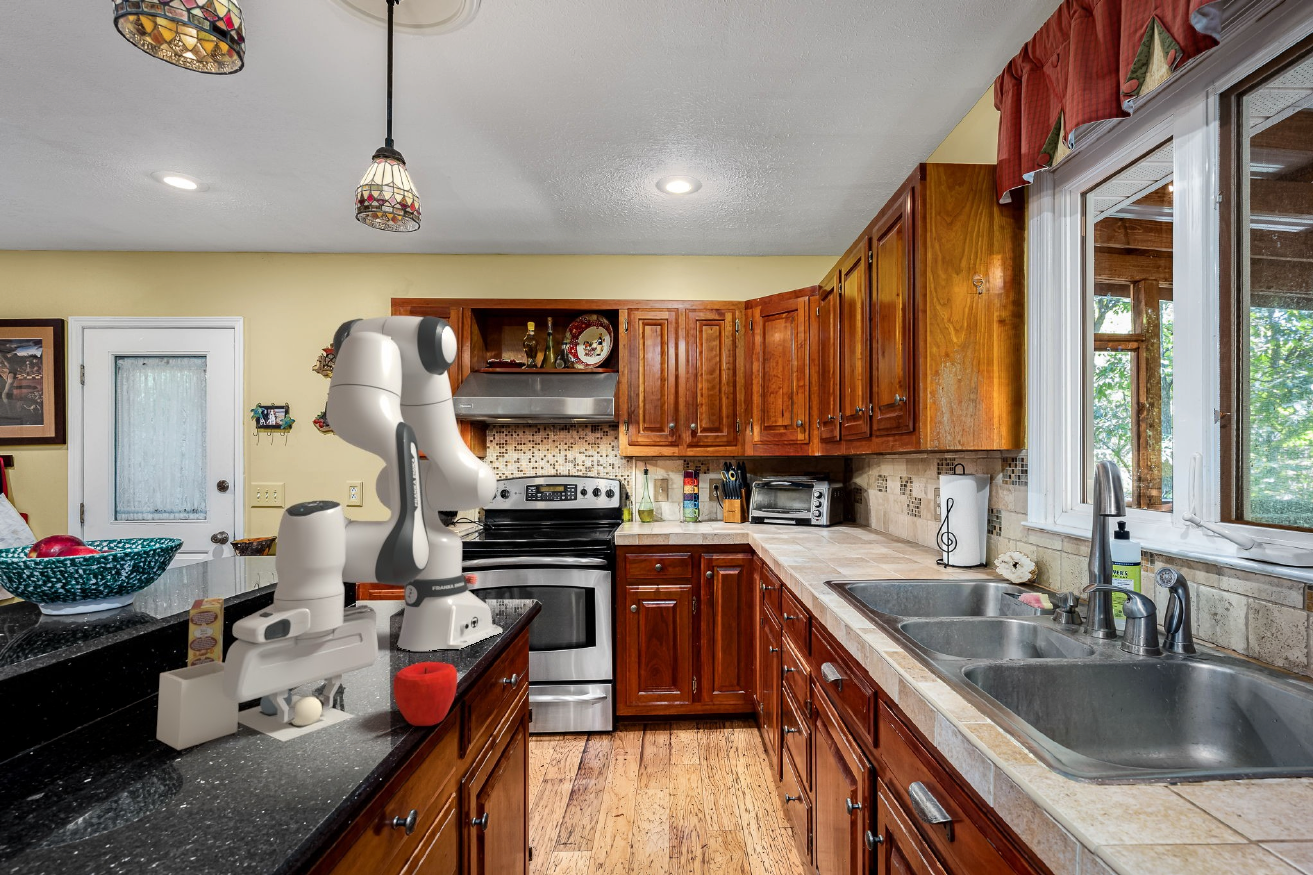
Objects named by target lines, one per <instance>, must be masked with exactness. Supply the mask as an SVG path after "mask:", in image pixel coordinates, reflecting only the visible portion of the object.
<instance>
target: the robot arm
mask: <svg viewBox="0 0 1313 875" xmlns="http://www.w3.org/2000/svg"><path fill="white" fill-rule="evenodd" d="M457 344H458V343H457V337H456V333H455V331H454V329H453V327H452V326H451V325H450V324H449V322H448V321H447V320H445V319H444V318H441V317H436V316H430V315H426V316H413V315H391V316H384V317H383V316H382V317H373V318H367V319H364V318H356V319H350V320H347V321H344V322H342V323H341V324H340V325H339V327H338V328H337V329H336V331H335V333H334V336H333V341H332V347H333V348H332V351H333V354H334V357H335V362H334V366H333V369H332V372H331V377H330V383H329V388H328V394H327V400H326V420H327V423H328V425H329V427H330V428H331V430H332V431H333V432H334V434H335V435H336V436H338V438H339V439H340V440H343V441H344V442H345V443H348V444H349V445H351V446H354V447H355V448H359V449H360V450H363V451H366V452H368V453H371V454H373V455H376V456H377V457H379V458H380V459H382V461H383V462H384V463H385V466H383V467H382V468H381V470H380V471H379V473H378V475H377V476H376V477H377V478H376V480H375V481H376V482H375V493H376V496H377V498H378V500H379V502H380V503H381V504H382V505H383V506H384V507H385V508H387V509H388V510H389V511H390V517H389V518H388V519H387V520H353V519H351V518H349V517H347V516H346V515H345V514H344V510H343V505H342V503H340V502H337V501H334V500H322V499H321V500H312V501H303V502H299V503H295V504H292V505H290V507H287V508H286V509H285V510H284V512H283V514H282V516H281V519H280V522H279V526H278V532H277V539H276V546H275V547H276V548H275V561H274V562H275V565H274V566H275V571H276V573H277V585H276V588H275V591H274V594H273V603H272V604H270V605H269V606H266V607H265V608H262V609H261V610H258V611H256V612H254V613H252V614H251V615H248V616H246V617H243V618H241V619H239V620H237V621H236V622H235V623H233V625H232V635H233V636H234V638H237V640H235V641H234V642H233V643H232V644H231V645H230V647H229V648H228V650H227V653H226V658H225V661H224V663H225V666H224V673H223V683H222V691H223V694H224V695H225V696H226V697H227V698H228V699H230V700H232V701H235V702H238V704H240V703H246V702H248V701H252V700H255V699H259V698H262V697H263V696H266V695H269V698H270V699H271V701H272V702H273V704H274V705H275V706H276V708H278V712H277V714H276V715H277V719H278V722H281V723H285V722H287V721H290V720H293V719H294V718H295V715H294V713H295V707H293V706H291V705H287V704H286V703H285V701H284V699H283V698H286V697H287V696H288V690H291V689H294V688H295V689H296V688H298V687H300V686H301V687H302V686H305V685H309V684H312V683H315V682H318V681H324V682H326V685H325V686H324V689H323V691H322V693H321V694H319V695H316V698H317V699H318V700H319V701H320V703H321V705H322V710H324V709H328V708H333V705H334V695H335V694H336V692H337V690H338V688H339V687H340V684H341V683H342V677H343V676H342V675H343V674H346V673H350V672H354V671H358V670H361V669H364V668H368V667H372V666H374V664H375V663H376V661H377V659H378V658H379V645H378V635H377V634H378V633H377V629H376V626H377V612H376V611H375V609H374V608H373V607H371V606H369V605H367V604H362V605H358V606H353V607H346V608H345V585H344V583H359V584H360V583H366V584H367V583H368V584H369V583H371V584H372V583H376V584H377V583H379V584H382V585H390V586H391V585H392V586H404V587H403V590H404V591H403V593H404V594H403V595H404V603H405V605H404V612H403V620H402V625H401V629H400V633H399V637H398V641H397V642H396V646H397V645H398V647H400V648H402V649H401V650H403V649H407V650H406V651H408V650H410V652H433V651H432V650H437V649H459V650H462V649H461V648H464V647H466V646H468V645H471V644H474V643H476V642H479V641H480V640H483V639H485V638H489V637H490V636H493V635H497V634H499V633H501V634H503V633H502V632H503V631H504V630H503V627H501V626H499V625H496V624H493V618H492V617H493V616H492V611H491V610H492V609H491V608H490V606H489V605H488V604H487V603H486V602H484V601H483V600H481V599H480V598H479V597H477V595H475V594H473V593H472V592H471V591H470V590H469V586H468V585H469V584H470V585H476V583H477V582H478V577H477V575H476V574H467V575H465V574H463V570H462V569H463V562H462V561H463V542H462V539H461V537H460V536H459V534H458V533H457V532H456V531H454V530H453V529H451V528H449V527H447V526H445V525H444V524H443V523H442V521H441V519H440V517H439V513H438V512H441V511H443V512H446V511H447V512H450V511H451V512H466V511H470V510H471V511H472V510H477V509H481V508H485V507H487V506H488V505H490V503H491V502H492V501H493V499H494V497H495V495H496V492H497V489H498V488H497V486H498V482H497V477H496V475H495V472H494V470H493V469H492V467H491V466H490V465H489V464H488V463H486V462H484V461H482V460H481V459H480V458H479V457H477V456H476V455H475V454H474V453H473V452H472V451H471V450H470V448H469V447H468V446H467V444H466V443H465V441H464V439H463V438H462V436H461V434H460V431H459V428H458V424H457V423H458V422H457V419H456V414H455V407H454V400H453V394H452V388H451V383H450V379H449V374H448V370H449V369H450V368H451V367H452V366H453V364H454V363H455V361H456V358H457V354H458V346H457ZM420 452H421V453H422V454H424V455H425V457H426V459H425V460H423V459H422V460H421V459H420ZM427 459H428V460H427ZM499 635H500V634H499ZM497 636H498V635H497ZM489 639H490V638H489ZM479 643H480V642H479ZM474 645H475V644H474ZM398 647H397V648H398ZM400 648H399V649H400ZM464 649H465V648H464ZM429 650H430V651H429ZM437 651H438V650H437Z"/></svg>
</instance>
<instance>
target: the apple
mask: <svg viewBox="0 0 1313 875" xmlns="http://www.w3.org/2000/svg"><path fill="white" fill-rule="evenodd" d="M457 686H458V671H457V669H456V667H455V666H454V665H453V664H450V663H445V662H440V661H439V662H438V661H424V662H416V663H414V664H411V665H409V666H406V667H404V668H401V670H399V671H398V672H397V673H396V674H395V676H394V678H393V695H394V700H395V703H396V705H397V707H398V709H399V711H400V713H401V714H402V716H403V717H404V719H405V721H406V722H408V724H410V725H412V726H414V727H432V726H434V725H437V724H439V723H440V722H443V720H444V719H445V718H446V716H447V714H448V713H449V710H450V708H451V706H452V704H453V702H454V699H455V698H456V694H457Z"/></svg>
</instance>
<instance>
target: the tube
mask: <svg viewBox="0 0 1313 875" xmlns="http://www.w3.org/2000/svg"><path fill="white" fill-rule="evenodd" d="M224 666H225V662H223V661H222V662H220V661H213V662H209V663H205V664H200V665H196V666H191V667H188V666H187V667H183V668H178V669H174V670H171V671H170V670H169V671H164V672H161V673H159V688H158V701H157V702H158V704H157V705H158V709H157V725H156V740H158V741H161V742H162V743H164V744H167V745H168V746H169V747H171V748H174V749H175V750H177V751H181V750H184V749H187V748H191V747H193V746H194V747H195V746H196V745H200V744H203V743H207V742H209V741H212V740H216V739H218V738H222V737H224V736H228V735H232V734H234V733H237V732H238V723H239V722H238V712H239V703H238V702H235V701H232V700H230V699H228V698H227V697H226V696H225V695H224V694H223V691H222V683H223V673H224Z"/></svg>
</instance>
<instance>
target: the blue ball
mask: <svg viewBox="0 0 1313 875" xmlns="http://www.w3.org/2000/svg"><path fill="white" fill-rule="evenodd" d="M292 696H293V694H292V692H291V691H290V689H288V696H287V697H286V698H283V699H284V701H285V703H286V704H287V705H291V702H292ZM259 706H261V709H262V711H261V712H263V714H264V715H277V712H278V708H276V706H275V705H274V704H273V702H272V701H271V699H270V698H269V695H266V696H263V697H261V699H260V705H259Z"/></svg>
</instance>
